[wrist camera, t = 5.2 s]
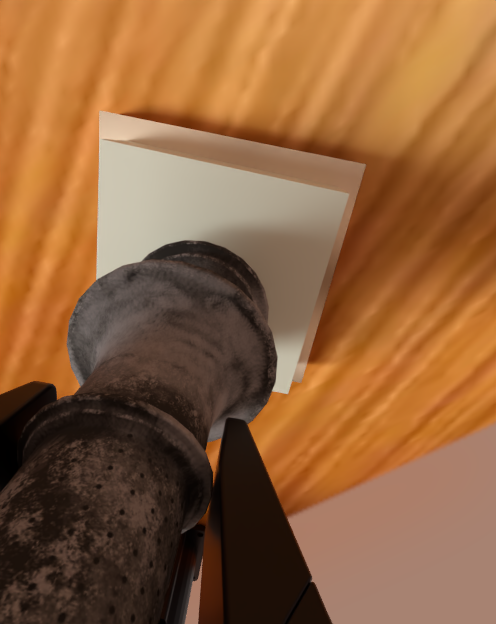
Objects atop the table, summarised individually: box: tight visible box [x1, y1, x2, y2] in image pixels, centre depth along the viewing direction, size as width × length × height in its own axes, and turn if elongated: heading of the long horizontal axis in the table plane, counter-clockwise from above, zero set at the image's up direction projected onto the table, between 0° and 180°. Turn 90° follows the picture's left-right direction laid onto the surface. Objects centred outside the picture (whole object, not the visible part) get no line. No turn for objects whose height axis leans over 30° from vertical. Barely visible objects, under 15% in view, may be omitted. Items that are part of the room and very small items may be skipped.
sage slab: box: [96, 139, 349, 394], centre depth 16 cm, size 9×9×2 cm
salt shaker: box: [0, 240, 278, 624], centre depth 8 cm, size 6×6×12 cm
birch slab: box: [99, 111, 366, 383], centre depth 18 cm, size 11×11×2 cm
